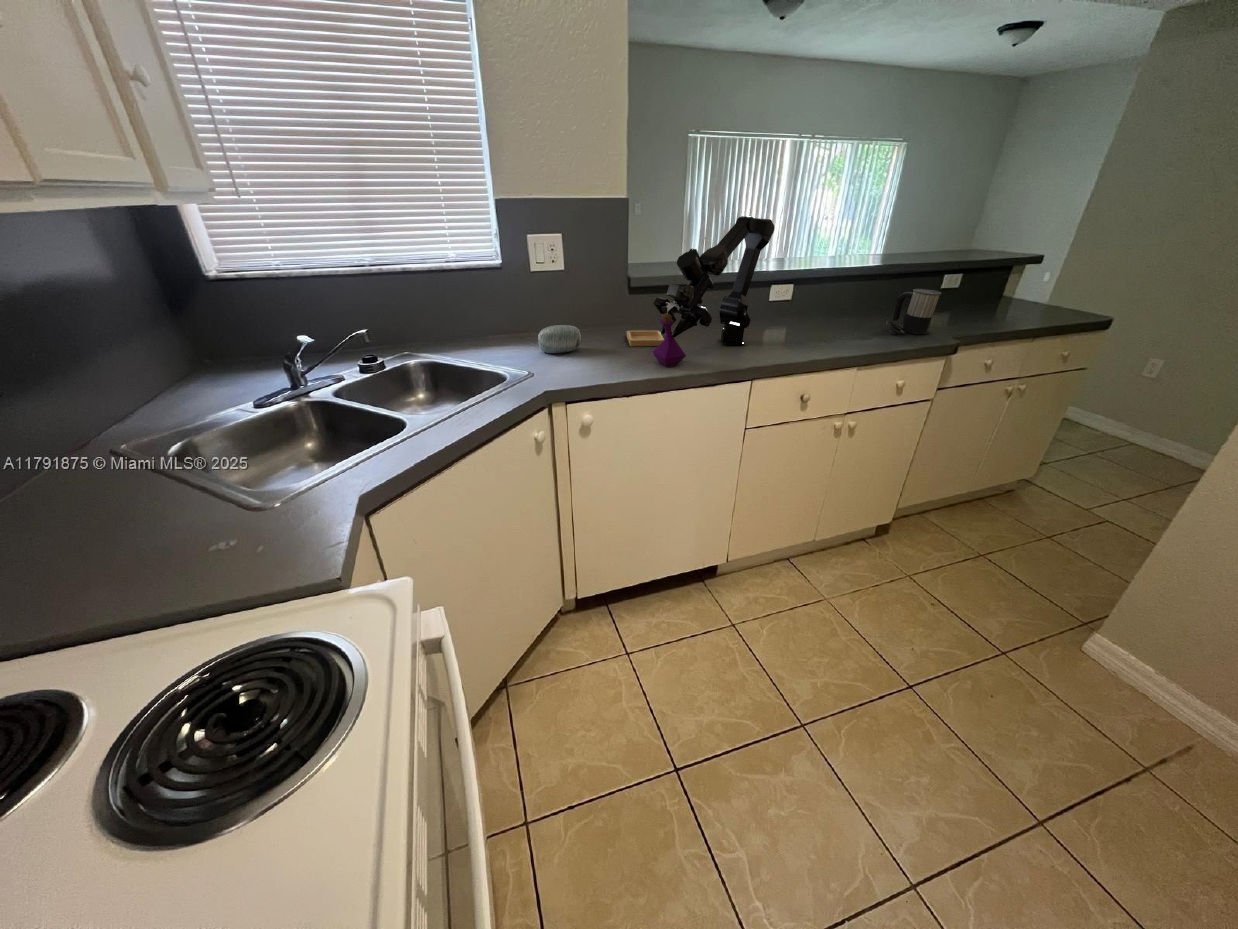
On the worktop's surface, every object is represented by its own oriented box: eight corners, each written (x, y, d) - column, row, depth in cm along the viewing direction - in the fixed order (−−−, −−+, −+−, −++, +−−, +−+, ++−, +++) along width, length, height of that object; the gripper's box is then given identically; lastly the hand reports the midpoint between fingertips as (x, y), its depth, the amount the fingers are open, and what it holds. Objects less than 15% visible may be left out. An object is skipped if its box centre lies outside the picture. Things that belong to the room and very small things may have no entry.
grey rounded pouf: (579, 334, 161) (574, 311, 152) (586, 355, 156) (580, 332, 148) (540, 345, 161) (532, 323, 152) (545, 366, 156) (537, 345, 147)
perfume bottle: (664, 369, 143) (668, 307, 134) (651, 361, 149) (654, 301, 140) (685, 366, 146) (691, 304, 137) (671, 358, 152) (676, 299, 143)
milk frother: (928, 330, 186) (942, 290, 179) (925, 340, 175) (940, 297, 167) (888, 324, 193) (899, 285, 185) (882, 333, 181) (894, 292, 174)
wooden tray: (658, 336, 173) (659, 330, 172) (664, 345, 163) (664, 340, 162) (626, 336, 172) (626, 330, 171) (630, 346, 162) (630, 340, 161)
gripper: (659, 268, 143) (631, 312, 142) (710, 277, 131) (680, 325, 130) (674, 292, 151) (648, 334, 150) (723, 303, 140) (696, 348, 139)
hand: (667, 335), depth 142 cm, fingers open, 4 cm apart
